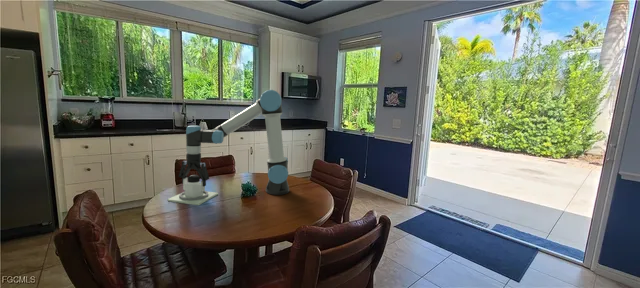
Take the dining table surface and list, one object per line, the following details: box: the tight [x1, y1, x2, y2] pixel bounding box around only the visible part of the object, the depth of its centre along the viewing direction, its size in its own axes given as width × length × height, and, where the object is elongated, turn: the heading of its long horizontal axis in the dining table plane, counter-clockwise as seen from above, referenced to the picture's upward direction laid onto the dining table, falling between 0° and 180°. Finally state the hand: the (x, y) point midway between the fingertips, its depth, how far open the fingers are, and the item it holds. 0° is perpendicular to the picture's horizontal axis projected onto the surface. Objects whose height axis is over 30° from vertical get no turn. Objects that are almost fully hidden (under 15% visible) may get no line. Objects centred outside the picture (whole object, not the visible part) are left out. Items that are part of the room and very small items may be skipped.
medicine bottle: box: [184, 174, 203, 198], centre depth 156 cm, size 7×7×12 cm
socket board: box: [167, 190, 219, 206], centre depth 157 cm, size 19×19×2 cm
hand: (194, 190), depth 156 cm, fingers open, 11 cm apart
